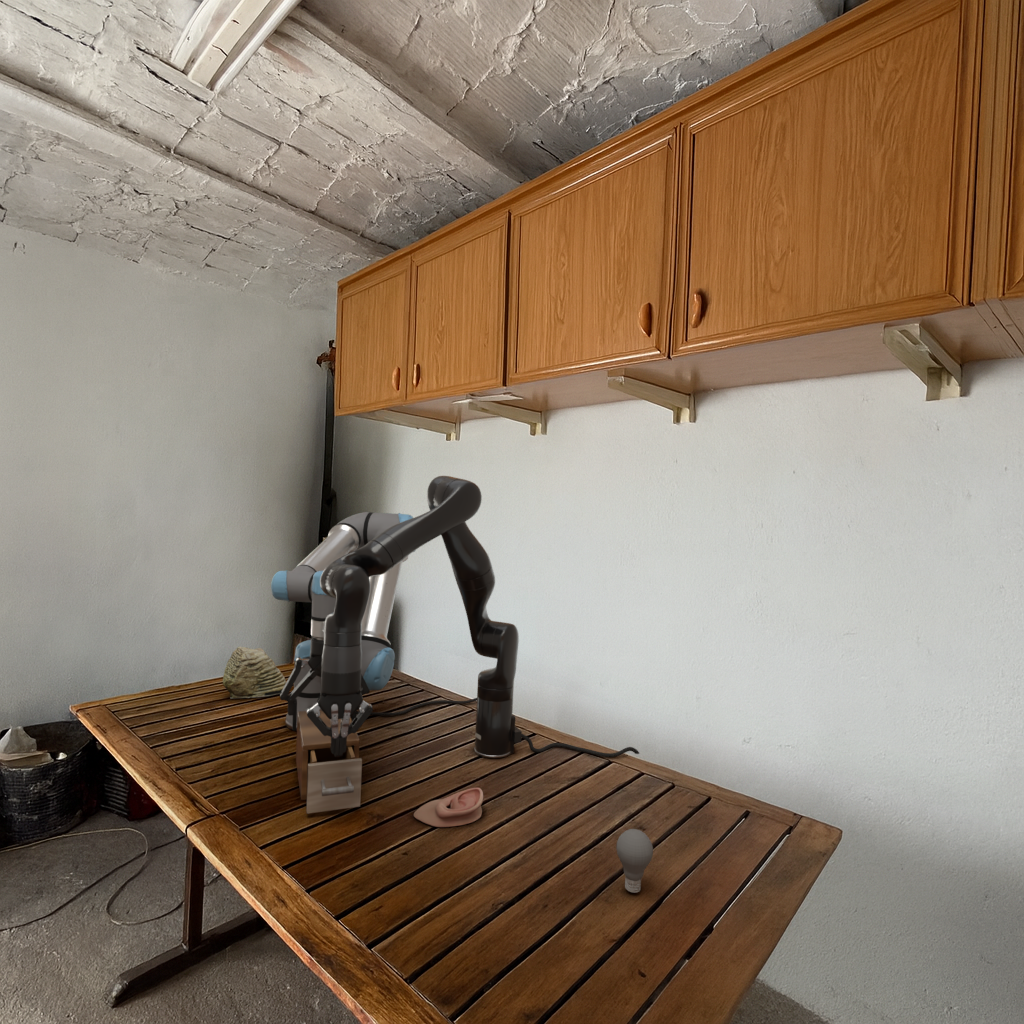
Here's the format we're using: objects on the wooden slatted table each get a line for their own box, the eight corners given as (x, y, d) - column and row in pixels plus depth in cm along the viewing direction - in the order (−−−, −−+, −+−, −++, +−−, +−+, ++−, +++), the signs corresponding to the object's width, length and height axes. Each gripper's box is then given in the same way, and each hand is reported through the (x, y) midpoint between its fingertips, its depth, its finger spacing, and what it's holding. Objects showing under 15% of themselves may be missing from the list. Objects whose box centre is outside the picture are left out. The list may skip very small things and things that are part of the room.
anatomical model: (408, 802, 124) (427, 778, 135) (407, 822, 124) (427, 796, 136) (473, 812, 122) (488, 786, 133) (473, 832, 122) (487, 805, 133)
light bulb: (610, 879, 108) (613, 822, 108) (644, 879, 109) (647, 822, 109) (619, 902, 102) (622, 840, 102) (655, 901, 103) (658, 840, 103)
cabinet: (357, 793, 136) (359, 740, 136) (300, 800, 132) (303, 745, 132) (345, 753, 156) (346, 707, 156) (295, 759, 152) (297, 711, 152)
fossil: (218, 695, 195) (220, 647, 195) (278, 685, 208) (279, 640, 207) (228, 703, 189) (230, 653, 188) (289, 692, 201) (290, 645, 201)
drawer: (364, 819, 123) (366, 771, 123) (308, 827, 119) (310, 778, 119) (347, 765, 147) (349, 725, 147) (300, 771, 143) (302, 729, 143)
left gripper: (271, 643, 141) (268, 736, 142) (383, 637, 150) (380, 726, 151) (270, 635, 148) (268, 724, 149) (377, 630, 157) (374, 715, 158)
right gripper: (307, 673, 117) (303, 766, 117) (379, 669, 122) (375, 758, 122) (304, 663, 124) (301, 751, 124) (372, 659, 129) (369, 744, 129)
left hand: (324, 725), depth 150 cm, fingers open, 13 cm apart
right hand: (338, 754), depth 123 cm, fingers closed
